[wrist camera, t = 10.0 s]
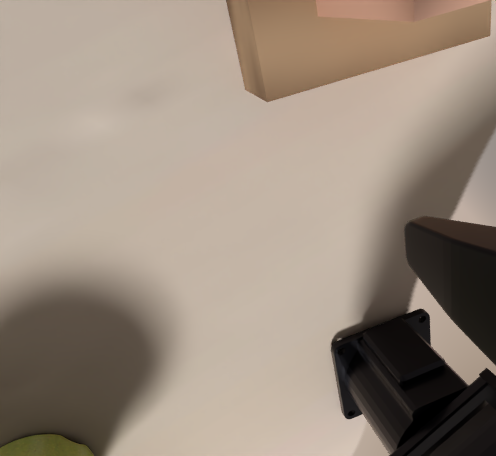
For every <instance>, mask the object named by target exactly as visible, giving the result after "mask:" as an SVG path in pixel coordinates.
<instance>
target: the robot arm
mask: <svg viewBox="0 0 496 456" xmlns="http://www.w3.org/2000/svg"><path fill="white" fill-rule="evenodd" d="M404 234H405V250H406V258H407V261H408V264H409V265H410V267H411V268H412V270H413V271H414V272H415V274H416V275H417V276H418V277H419V279H420V280H421V281H422V283H423V284H424V285H425V286H426V288H427V289H428V290H429V291H430V293H431V294H432V295H433V297H434V298H435V299H436V301H437V302H438V303H439V305H440V306H441V307H442V308H443V310H444V311H445V312H446V313H447V315H448V316H449V317H450V318H451V319H452V320H453V322H454V323H455V324H456V325H457V326H458V327H459V328H460V329H461V330H462V331H463V332H464V333H465V334H466V335H467V336H468V337H469V338H470V339H471V341H472V342H473V343H474V344H475V345H476V346H478V348H479V349H480V350H481V351H482V352H483V353H484V354H485V355H486V356H487V357H488V358H489V359H490V360H491V361H492V362H493V363H494V364H495V365H496V227H492V226H485V225H480V224H473V223H467V222H460V221H454V220H447V219H441V218H434V217H428V216H422V217H419V218H416V219H413V220H411V221H408V222H407V223H406V224H405V227H404ZM420 317H421V318H420ZM341 348H342V349H341ZM339 349H341V350H339ZM331 352H332V358H333V364H334V370H335V375H336V381H337V387H338V393H339V398H340V404H341V410H342V413H343V415H344V416H345V418H347V419H352V418H354V417H357V416H359V415H361V414H363V415H364V417H365V418H366V420H367V421H368V423H369V424H370V426H371V427H372V428H373V430H374V432H375V433H376V435H377V436H378V438H379V439H380V440H381V442H382V444H383V445H384V447H385V448H386V450H387V451H388V453H389V454H390V455H389V456H496V376H495V375H494V374H493V373H492V372H491V371H490V370H488V369H487V368H486V369H485V370H484V371H482V372H481V373H480V374H479V375H480V377H478V378H477V379H476V380H475V381H474V382H473V383H472V384H471V385H467V384H466V382H465V381H464V380H463V379H462V378H461V377H460V376H459V375H458V374H457V373H456V372H455V371H454V370H453V369H452V368H451V367H450V366H449V365H447V363H446V362H445V360H444V359H443V358H442V357H441V356H440V355H439V354H438V353H437V352H436V351H435V350H434V349H433V348H432V347H431V343H430V317H429V314H428V313H427V312H426V311H425V310H423V309H418V310H415V311H413V312H410V313H408V314H405V315H403V316H400V317H398V318H395V319H393V320H390V321H388V322H385V323H382V324H380V325H377V326H375V327H372V328H370V329H367V330H365V331H362V332H360V333H357V334H354V335H352V336H349V337H347V338H344V339H342V340H339V341H337V342H335V343H334V344H333V345H332V347H331Z"/></svg>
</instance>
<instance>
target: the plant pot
mask: <svg viewBox="0 0 496 456" xmlns="http://www.w3.org/2000/svg"><path fill="white" fill-rule="evenodd" d="M0 456H94V455H93V453H92V452H91V450H90V449H89V448H88V447H87V446H86V445H84V444H77V443H75V442H72V441H70V440H68V439H66V438H64V437H63V436H61V435H54V434H42V435H34V436H29V437H25V438H22V439H18V440H15V441H13V442H11V443H8V444H6V445H5V446H3V447H1V448H0Z"/></svg>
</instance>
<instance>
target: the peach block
mask: <svg viewBox="0 0 496 456" xmlns="http://www.w3.org/2000/svg"><path fill="white" fill-rule="evenodd" d="M486 1H489V0H316V6H317V13H318V17H335V18H352V19H370V20H388V21H406V22H416V21H420V20H423V19H427V18H430V17H434V16H437V15H440V14H444V13H447V12H451V11H454V10H458V9H461V8H465V7H468V6H472V5H475V4H479V3H482V2H486Z"/></svg>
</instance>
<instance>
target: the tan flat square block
mask: <svg viewBox="0 0 496 456" xmlns="http://www.w3.org/2000/svg"><path fill="white" fill-rule="evenodd" d="M226 2H227V6H228V11H229V16H230V20H231V25H232V29H233V34H234V39H235V43H236V48H237V53H238V57H239V62H240V67H241V71H242V76H243V81H244V85H245V90H247V91H249V92H250V93H252V94H254V95H256V96H258V97H259V98H261V99H263V100H265V101H266V102H269V101H273V100H276V99H279V98H283V97H286V96H290V95H293V94H296V93H300V92H303V91H306V90H310V89H313V88H316V87H320V86H323V85H327V84H330V83H333V82H337V81H340V80H343V79H347V78H350V77H353V76H357V75H360V74H363V73H367V72H370V71H374V70H377V69H380V68H384V67H387V66H390V65H394V64H397V63H400V62H404V61H407V60H411V59H414V58H417V57H421V56H424V55H427V54H431V53H434V52H437V51H441V50H444V49H448V48H451V47H454V46H458V45H461V44H464V43H468V42H471V41H474V40H478V39H481V38H484V37H488V36H490V25H491V0H489V1H486V2H482V3H479V4H475V5H472V6H468V7H465V8H461V9H458V10H454V11H451V12H447V13H444V14H440V15H437V16H434V17H430V18H427V19H423V20H420V21H416V22H406V21H388V20H370V19H352V18H335V17H318V13H317V6H316V0H226Z"/></svg>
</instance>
